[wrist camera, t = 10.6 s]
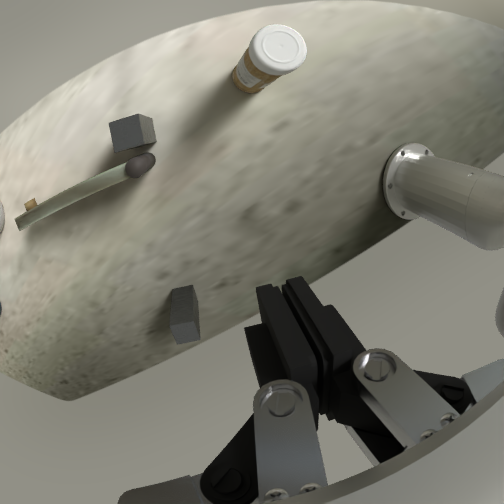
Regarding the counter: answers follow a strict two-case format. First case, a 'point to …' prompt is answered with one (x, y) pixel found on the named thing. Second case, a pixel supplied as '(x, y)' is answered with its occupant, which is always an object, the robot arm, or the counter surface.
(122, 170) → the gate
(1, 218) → the milk bottle
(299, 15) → the counter surface
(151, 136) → the grey rectangular blocks
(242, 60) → the sprinkles bottle
